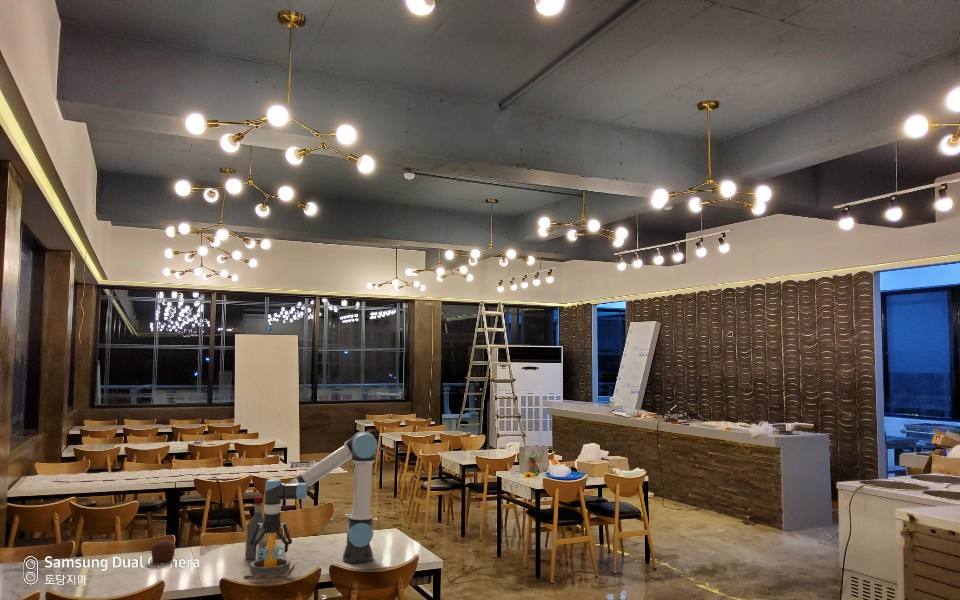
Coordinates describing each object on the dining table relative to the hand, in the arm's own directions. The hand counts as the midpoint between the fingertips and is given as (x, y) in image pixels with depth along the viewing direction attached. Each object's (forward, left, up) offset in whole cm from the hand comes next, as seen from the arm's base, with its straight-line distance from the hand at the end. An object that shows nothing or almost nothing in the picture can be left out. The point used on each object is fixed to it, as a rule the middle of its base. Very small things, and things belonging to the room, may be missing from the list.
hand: (270, 559), depth 321 cm
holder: (0, 0, -6) cm, 6 cm away
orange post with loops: (0, 0, -4) cm, 4 cm away
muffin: (+57, -19, -6) cm, 60 cm away
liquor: (+13, -25, -6) cm, 29 cm away
